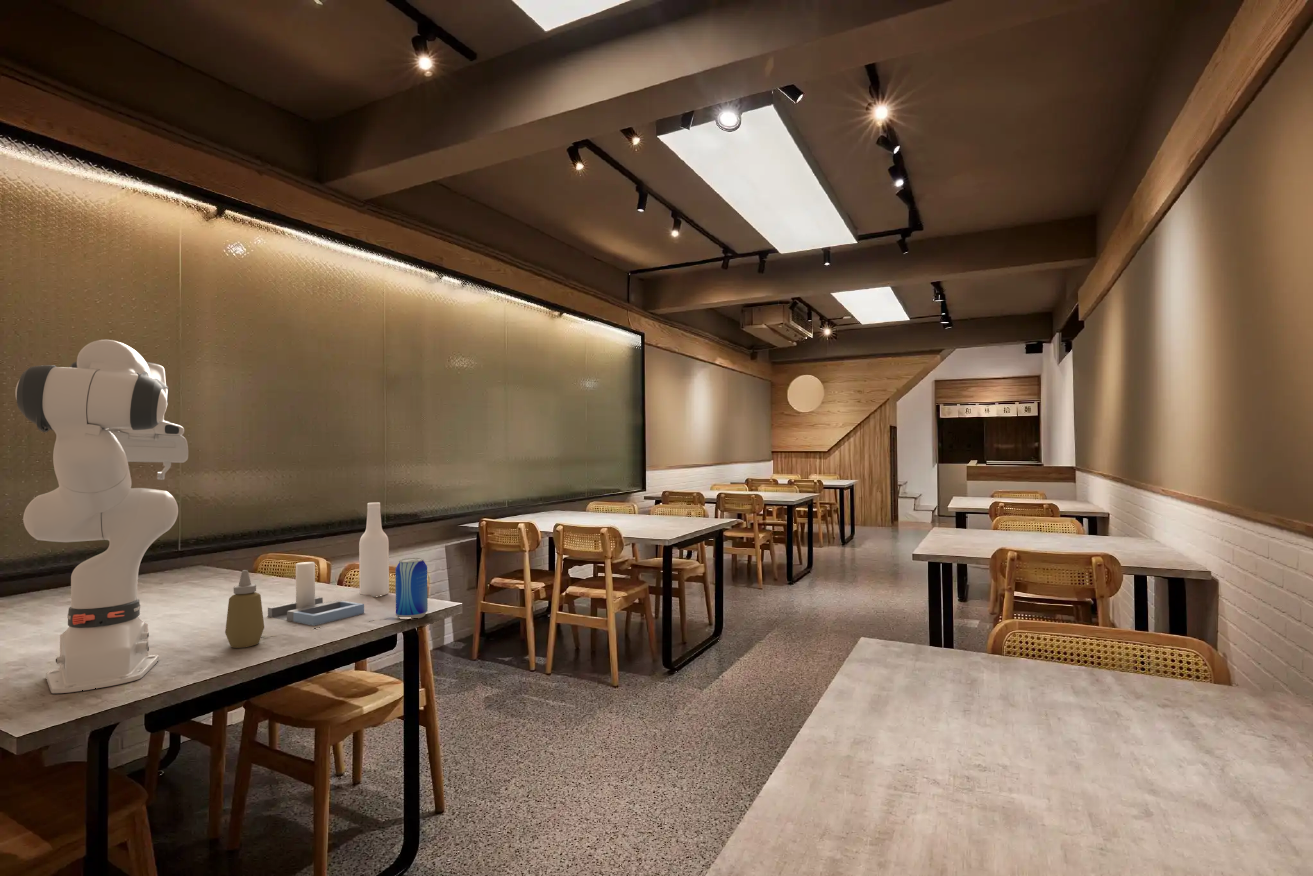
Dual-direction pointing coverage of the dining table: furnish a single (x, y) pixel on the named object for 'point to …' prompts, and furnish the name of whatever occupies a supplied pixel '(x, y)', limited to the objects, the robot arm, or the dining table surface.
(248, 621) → the squeeze bottle
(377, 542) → the alcohol
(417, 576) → the beer can
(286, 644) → the dining table surface
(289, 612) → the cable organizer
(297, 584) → the plug post
